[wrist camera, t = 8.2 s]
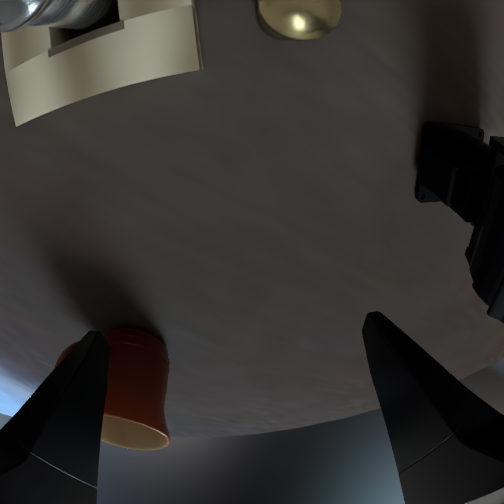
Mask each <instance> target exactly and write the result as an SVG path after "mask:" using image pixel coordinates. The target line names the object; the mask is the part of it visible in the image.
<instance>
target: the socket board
mask: <svg viewBox="0 0 504 504" xmlns="http://www.w3.org/2000/svg"><path fill="white" fill-rule="evenodd" d="M118 7H119V17H120V22H117V23H114V24H111V25H108V26H105V27H102V28H99V29H97V30H94V31H91V32H89V33H86V34H83V35H81V36H78V37H76V38H74V39H71V40H70V34H69V29H68V28H58V27H46V26H27V27H25V28H23V29H21V30H18V31H15V32H1V35H2V47H3V57H4V65H5V72H6V79H7V85H8V90H9V96H10V101H11V106H12V111H13V115H14V119H15V124H16V127H17V126H19V125H21V124H23V123H25V122H27V121H29V120H32V119H34V118H36V117H38V116H41V115H43V114H45V113H48V112H50V111H53V110H55V109H58V108H60V107H63V106H65V105H68V104H71V103H74V102H76V101H79V100H82V99H85V98H88V97H91V96H94V95H97V94H100V93H103V92H106V91H110V90H113V89H117V88H120V87H124V86H127V85H131V84H135V83H139V82H143V81H147V80H151V79H156V78H160V77H165V76H170V75H175V74H180V73H185V72H191V71H197V70H203V62H202V54H201V46H200V38H199V30H198V21H197V13H196V4H195V0H118Z"/></svg>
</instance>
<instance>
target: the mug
mask: <svg viewBox="0 0 504 504" xmlns="http://www.w3.org/2000/svg"><path fill="white" fill-rule="evenodd" d="M104 338H105V340H106V342H107V343H108V345H109V348H110V356H109V370H108V386H107V395H106V402H105V408H104V416H103V424H102V432H101V441H103V442H107V443H109V444H113V445H116V446H120V447H124V448H130V449H137V450H157V449H162V448H165V447H167V446H168V445H169V444H170V441H171V440H170V436H169V432H168V429H167V425H166V420H165V413H164V405H165V397H166V391H167V382H168V374H169V364H170V363H169V359H168V351H167V349H166V347H165V345H164V344H163V343H162V342H161V341H160V340H159V339H158V338H156V337H155V336H153V335H152V334H150V333H148V332H146V331H143V330H140V329H136V328H128V327H124V328H118V329H114V330H112V331H110V332H109V333H107V334H106V335H105V337H104ZM78 342H79V341H78ZM78 342H75V343H73V344H71V345H70V346H68V347H67V348H66V349H65V350H64V351H63V352H62V354H61V355H60V357H59V358H58V360H57V363H56V365H55V368H56V367H57V365H58V364H59V363H60V362H61V361H62V360H63V359H64V358H65V357H66V355H67V354H68V353H69V352H70V351H71V350H72V349H73V348H74V347H75V346H76V345H77V343H78ZM55 368H54V369H55Z"/></svg>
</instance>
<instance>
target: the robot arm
mask: <svg viewBox="0 0 504 504" xmlns="http://www.w3.org/2000/svg"><path fill="white" fill-rule="evenodd" d="M430 126H431V130H430V131H429V127H430ZM478 134H479V135H478ZM483 139H484V131H483V129H481V128H479V127H473V126H466V125H459V124H451V123H442V122H432V121H427V122H426V123H425V124H424V126H423V137H422V148H421V153H420V162H419V170H418V177H417V187H416V194H415V198H416V199H417V200H418V201H419V202H421V203H423V202H438V201H442V202H443V203H444V204H445V205H446V206H449V207H450V208H451V209H452V210H453V211H455V212H456V213H457V214H458V215H459V216H460V217H461V218H462V219H463V220H464V221H465V222H469V223H470V224H471V225H472V226H474V229H473V233H472V236H471V240H470V243H469V246H468V247H467V249H466V252H465V256H466V258H467V261H468V263H469V266H470V273H471V276H472V279H473V284H472V286H473V289H474V290H475V292H476V293H477V294H478V296H479V297H480V298H481V299H482V300H483V301H484V302H485V304H487V305H488V306H489V308H488V310H487V314H488V315H489V316H491V317H493V318H495V319H497V320H500V321H501V322H503V323H504V137H497V136H490V141H489V145H488V144H486V143H484V142H483ZM422 194H423V195H422ZM421 195H422V197H420V196H421ZM362 335H363V340H364V345H365V349H366V354H367V359H368V364H369V369H370V373H371V377H372V380H373V384H374V387H375V390H376V393H377V396H378V400H379V403H380V406H381V410H382V413H383V416H384V420H385V424H386V427H387V431H388V434H389V438H390V442H391V446H392V449H393V453H394V457H395V461H396V465H397V470H398V473H399V478H400V483H401V487H402V492H403V496H404V501H405V504H504V415H502V414H501V413H499V412H498V411H497V410H495V409H494V408H492V407H491V406H490V405H489V404H487V403H486V402H484V401H483V400H482V399H480V398H479V397H478V396H476V395H475V394H474V393H472V392H471V391H470V390H469V389H467V388H466V387H465V386H464V385H463V384H462V383H461V382H459V381H458V380H457V379H456V378H455V377H454V376H453V375H452V374H449V372H448V371H447V370H446V369H445V368H444V367H443V366H442V365H440V364H439V363H438V362H437V361H436V360H435V359H434V358H433V357H432V356H430V355H429V354H428V353H427V352H426V351H425V350H424V349H422V348H421V347H420V346H419V345H418V344H417V343H416V342H415V341H413V340H412V339H411V338H410V337H409V336H408V335H406V334H405V333H404V332H403V331H402V330H401V329H400V328H398V327H397V326H396V325H395V324H394V323H393V322H391V321H390V320H389V319H388V318H387V317H386V316H384V315H383V314H382V313H381V312H379V311H376V312H369V313H368V314H367V315H366V319H365V322H364V325H363V328H362ZM109 356H110V348H109V345H108V343H107V342H106V340H105V338H104V336H103V335H102V333H101V332H100V331H89V332H88V333H87V334H86V335H85V336H84V337H83V338H82V339H81V340H80V341H79V342H78V343H77V345H76V346H75V347H74V348H73V349H72V350H71V351H70V352H69V353H68V354H67V355H66V357H65V358H64V359H63V360H62V361H61V362H60V363H59V364H58V365H57V367H56V368H55V369H54V370H53V371H52V372H51V373H50V375H49V376H48V377H47V378H46V379H45V380H44V381H43V383H42V384H41V385H40V386H39V387H38V388H37V390H36V391H35V392H34V393H33V394H32V395H31V398H29V399H28V400H27V401H26V402H25V404H24V405H23V406H22V407H21V408H20V409H19V411H18V412H17V413H16V414H15V415H14V416H13V417H12V418H11V419H10V420H9V422H7V423H6V424H5V425H4V427H3V428H2V429H1V430H0V504H97V479H98V463H99V452H100V441H101V432H102V424H103V416H104V408H105V402H106V395H107V386H108V370H109Z"/></svg>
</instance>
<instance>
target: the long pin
mask: <svg viewBox="0 0 504 504" xmlns="http://www.w3.org/2000/svg"><path fill="white" fill-rule="evenodd" d="M118 15H119V7H118V0H0V32H15V31H18V30H21V29H23V28H25V27H27V26H46V27H58V28H68V29H77V30H85V31H94V30H97V29H99V28H102V27H105V26H108V25H110V24H111V23H113V22H114V21H115V19H116V18H117V17H118Z"/></svg>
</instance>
